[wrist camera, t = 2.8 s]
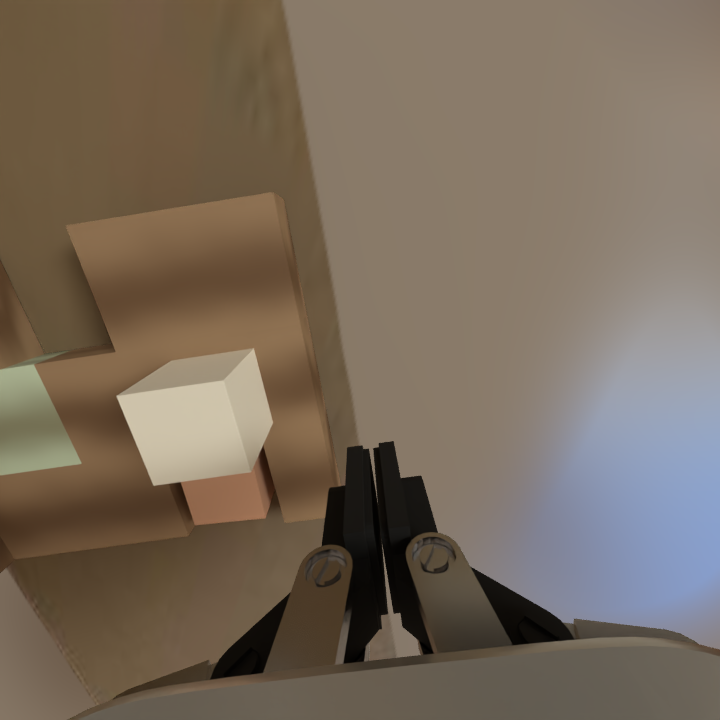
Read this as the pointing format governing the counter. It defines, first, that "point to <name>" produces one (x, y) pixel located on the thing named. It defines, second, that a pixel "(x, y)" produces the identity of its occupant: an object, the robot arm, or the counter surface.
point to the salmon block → (231, 495)
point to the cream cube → (199, 417)
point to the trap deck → (141, 358)
